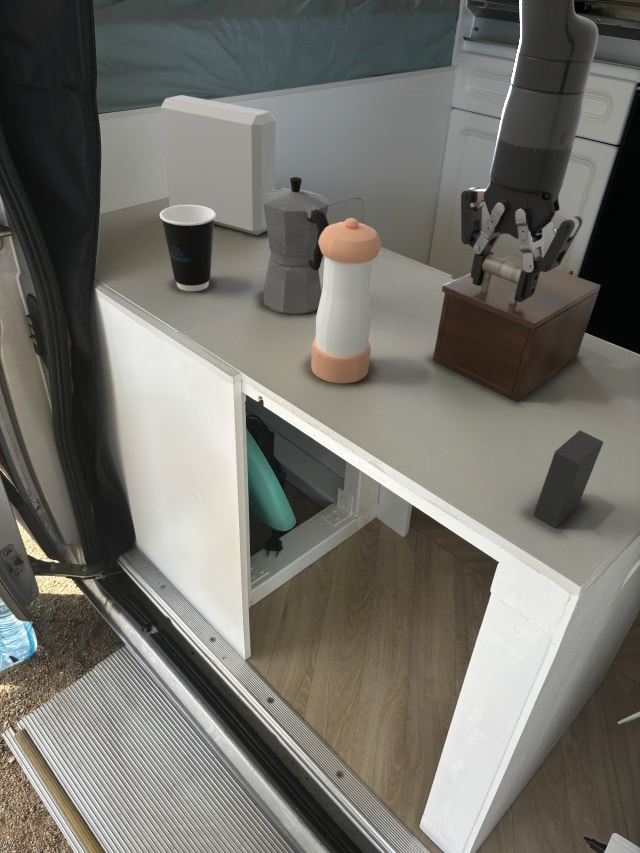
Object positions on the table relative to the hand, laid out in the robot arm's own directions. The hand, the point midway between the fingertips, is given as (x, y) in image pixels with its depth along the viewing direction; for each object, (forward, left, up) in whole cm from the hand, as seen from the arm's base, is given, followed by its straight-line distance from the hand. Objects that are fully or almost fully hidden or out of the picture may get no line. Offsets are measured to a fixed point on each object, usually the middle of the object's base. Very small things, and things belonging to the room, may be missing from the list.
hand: (499, 290), depth 76 cm
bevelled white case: (+61, -20, -12) cm, 66 cm away
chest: (-1, -6, -12) cm, 13 cm away
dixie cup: (+46, +4, -12) cm, 48 cm away
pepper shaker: (+15, +10, -12) cm, 22 cm away
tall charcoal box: (-16, +19, -12) cm, 27 cm away
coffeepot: (+30, -1, -12) cm, 32 cm away
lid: (-1, -6, -2) cm, 6 cm away
